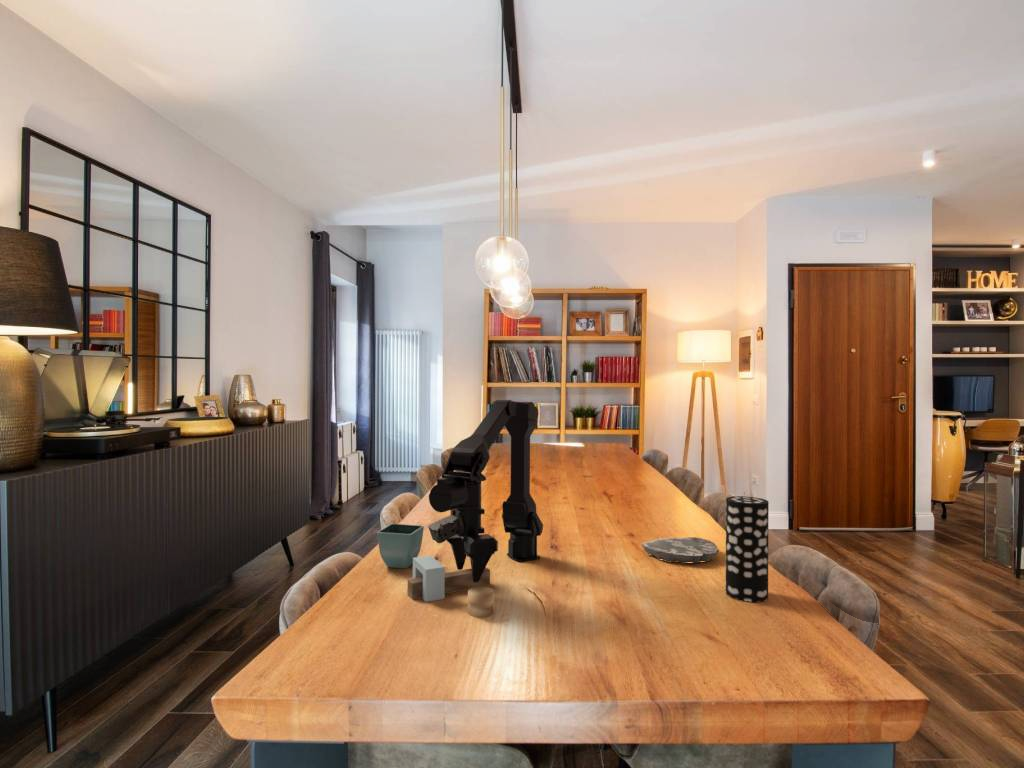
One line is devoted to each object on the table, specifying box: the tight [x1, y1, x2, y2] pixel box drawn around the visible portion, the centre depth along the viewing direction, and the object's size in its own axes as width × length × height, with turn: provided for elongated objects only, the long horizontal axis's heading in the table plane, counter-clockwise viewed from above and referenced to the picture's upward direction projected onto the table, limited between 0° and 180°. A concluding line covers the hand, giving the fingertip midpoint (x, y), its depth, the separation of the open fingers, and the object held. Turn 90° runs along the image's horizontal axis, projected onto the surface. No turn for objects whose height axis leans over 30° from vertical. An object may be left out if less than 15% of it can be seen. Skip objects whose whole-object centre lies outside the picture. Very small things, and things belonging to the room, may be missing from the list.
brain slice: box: [641, 536, 720, 563], centre depth 149 cm, size 20×17×3 cm
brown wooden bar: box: [406, 566, 491, 600], centre depth 124 cm, size 18×3×4 cm, turn 120°
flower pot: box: [376, 523, 425, 569], centre depth 141 cm, size 9×9×9 cm
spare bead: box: [467, 586, 495, 618], centre depth 112 cm, size 5×5×4 cm
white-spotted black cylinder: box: [725, 495, 769, 603], centre depth 122 cm, size 8×8×20 cm
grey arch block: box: [412, 555, 446, 602], centre depth 122 cm, size 4×9×6 cm, turn 27°
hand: (467, 575), depth 126 cm, fingers open, 9 cm apart
